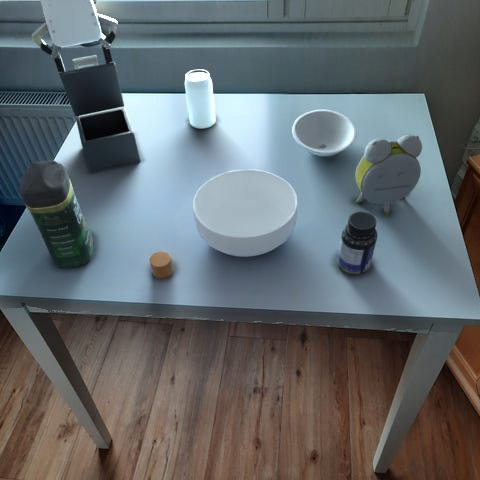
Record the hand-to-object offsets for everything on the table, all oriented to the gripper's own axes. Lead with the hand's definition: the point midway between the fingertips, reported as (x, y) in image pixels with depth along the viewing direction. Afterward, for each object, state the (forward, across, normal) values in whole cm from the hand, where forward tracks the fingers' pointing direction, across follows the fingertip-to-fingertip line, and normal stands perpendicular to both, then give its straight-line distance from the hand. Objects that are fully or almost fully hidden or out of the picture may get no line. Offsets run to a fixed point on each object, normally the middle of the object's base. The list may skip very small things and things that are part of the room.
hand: (86, 70), depth 102 cm
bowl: (+18, -21, +44) cm, 52 cm away
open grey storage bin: (+18, 0, +6) cm, 18 cm away
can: (+17, -24, 0) cm, 30 cm away
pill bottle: (+18, -37, +58) cm, 72 cm away
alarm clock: (+18, -50, +46) cm, 70 cm away
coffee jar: (+18, +12, +36) cm, 42 cm away
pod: (+18, -3, +48) cm, 51 cm away
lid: (+4, 0, +3) cm, 5 cm away
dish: (+17, -47, +22) cm, 55 cm away
